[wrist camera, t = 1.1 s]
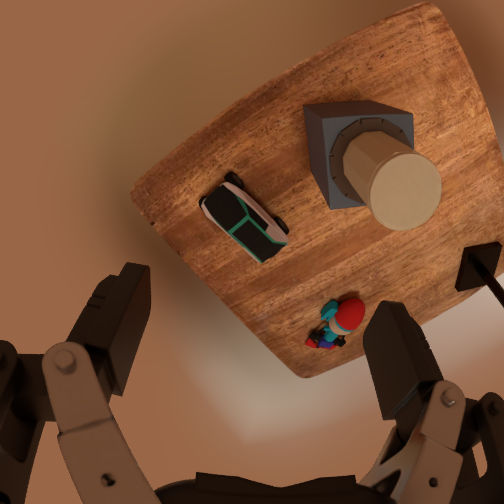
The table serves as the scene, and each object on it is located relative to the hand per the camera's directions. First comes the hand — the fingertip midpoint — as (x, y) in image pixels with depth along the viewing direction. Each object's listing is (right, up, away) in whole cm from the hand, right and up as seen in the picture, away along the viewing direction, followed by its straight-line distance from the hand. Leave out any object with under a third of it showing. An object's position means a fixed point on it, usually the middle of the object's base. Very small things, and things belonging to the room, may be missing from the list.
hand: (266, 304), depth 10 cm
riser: (+11, +17, +26) cm, 33 cm away
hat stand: (+42, -1, +37) cm, 56 cm away
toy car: (-1, +7, +33) cm, 34 cm away
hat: (+11, +10, +16) cm, 22 cm away
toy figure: (+14, -10, +44) cm, 47 cm away
